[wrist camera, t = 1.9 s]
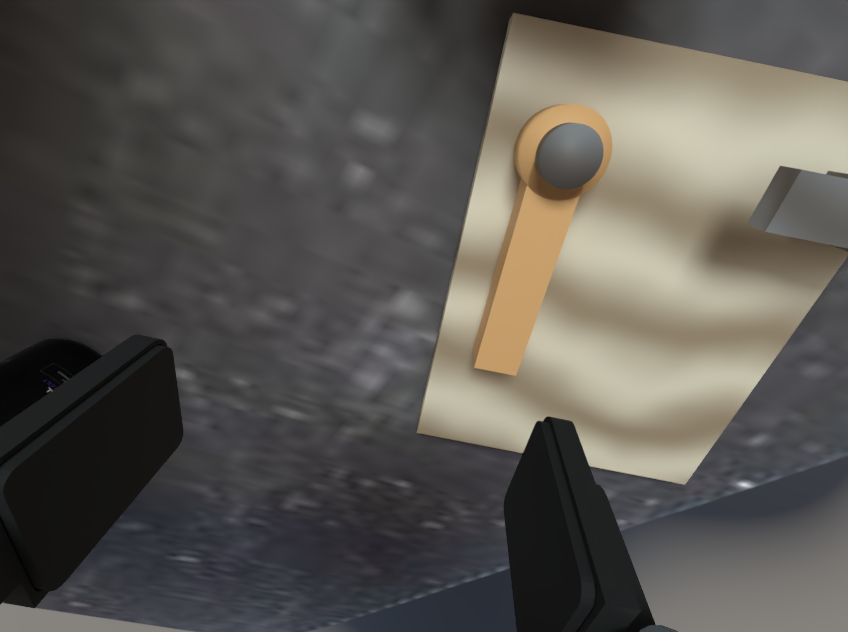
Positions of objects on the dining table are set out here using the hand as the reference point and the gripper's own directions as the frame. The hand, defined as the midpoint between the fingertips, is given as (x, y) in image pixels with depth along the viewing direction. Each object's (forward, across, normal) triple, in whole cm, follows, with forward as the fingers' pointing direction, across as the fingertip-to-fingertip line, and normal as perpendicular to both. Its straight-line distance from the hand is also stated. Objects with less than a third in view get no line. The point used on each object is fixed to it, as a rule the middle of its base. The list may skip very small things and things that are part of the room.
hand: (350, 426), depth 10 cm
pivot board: (+16, -13, +1) cm, 21 cm away
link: (+14, -6, -1) cm, 16 cm away
